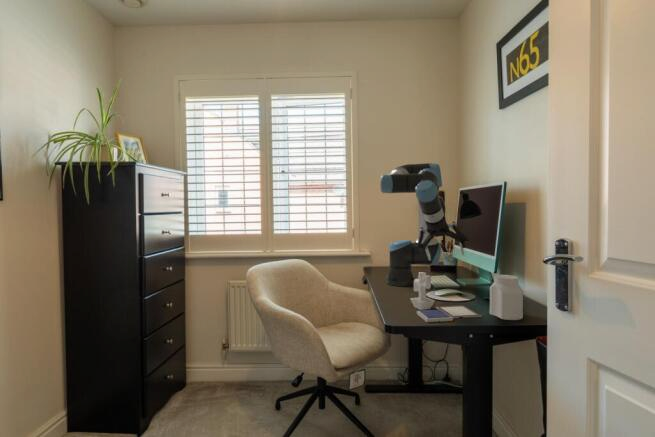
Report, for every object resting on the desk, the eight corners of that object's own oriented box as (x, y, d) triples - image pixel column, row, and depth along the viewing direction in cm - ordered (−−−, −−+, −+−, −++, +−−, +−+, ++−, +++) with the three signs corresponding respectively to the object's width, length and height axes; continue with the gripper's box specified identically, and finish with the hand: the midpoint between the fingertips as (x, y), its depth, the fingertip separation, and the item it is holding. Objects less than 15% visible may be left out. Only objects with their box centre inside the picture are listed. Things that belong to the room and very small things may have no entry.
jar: (484, 312, 142) (485, 274, 141) (504, 309, 144) (504, 273, 144) (507, 321, 131) (507, 280, 130) (528, 318, 133) (528, 278, 133)
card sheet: (436, 307, 149) (436, 306, 149) (463, 306, 150) (463, 305, 150) (451, 318, 135) (451, 316, 135) (481, 316, 136) (481, 315, 136)
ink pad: (416, 313, 141) (416, 310, 140) (441, 312, 142) (441, 308, 142) (426, 322, 131) (426, 318, 131) (452, 320, 132) (452, 316, 132)
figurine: (422, 304, 154) (422, 269, 153) (436, 310, 145) (436, 273, 144) (408, 306, 151) (408, 271, 150) (422, 312, 142) (422, 275, 142)
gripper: (402, 229, 140) (416, 266, 151) (469, 217, 130) (479, 257, 141) (402, 217, 146) (416, 253, 157) (467, 204, 136) (476, 244, 147)
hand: (446, 255), depth 149 cm, fingers open, 13 cm apart
